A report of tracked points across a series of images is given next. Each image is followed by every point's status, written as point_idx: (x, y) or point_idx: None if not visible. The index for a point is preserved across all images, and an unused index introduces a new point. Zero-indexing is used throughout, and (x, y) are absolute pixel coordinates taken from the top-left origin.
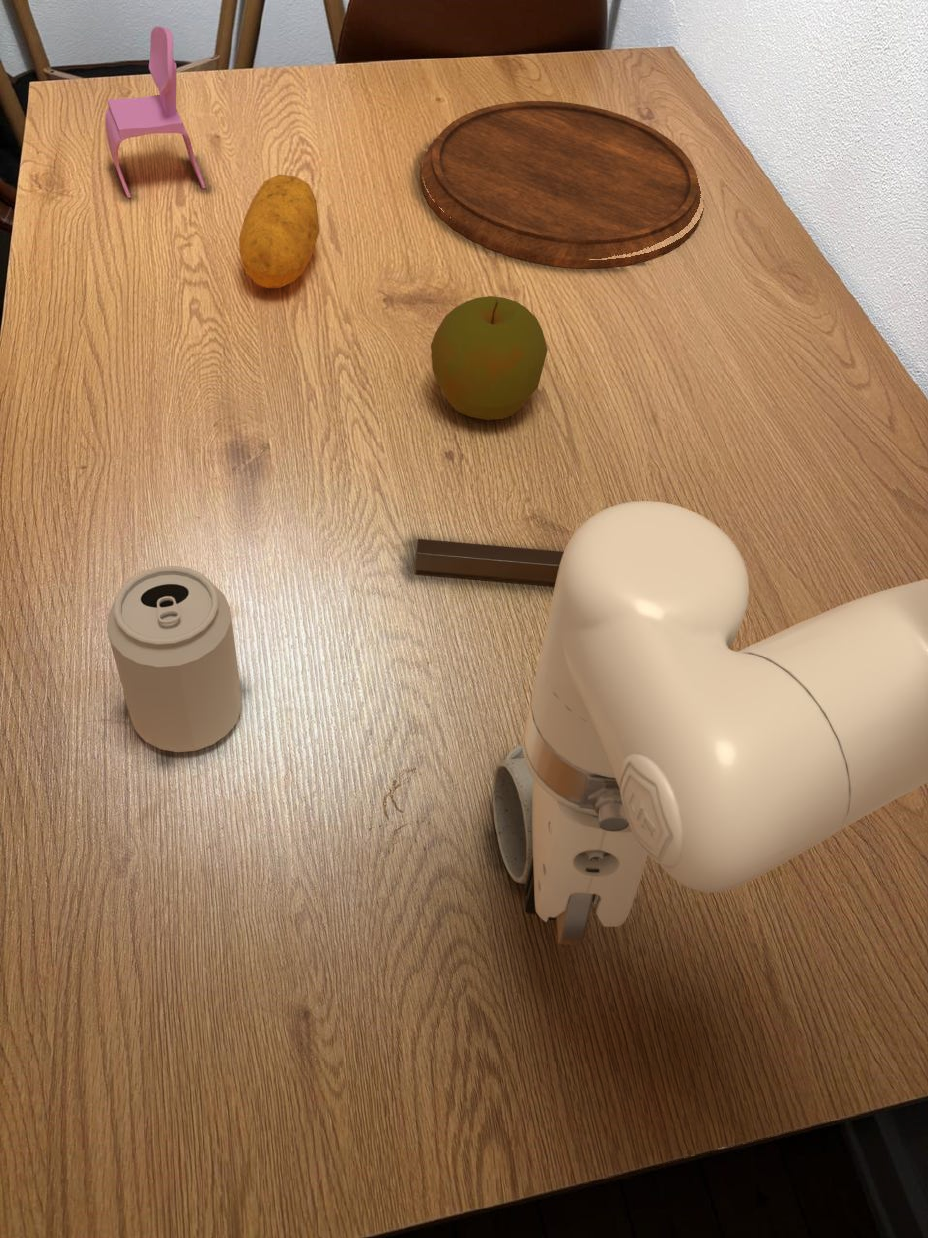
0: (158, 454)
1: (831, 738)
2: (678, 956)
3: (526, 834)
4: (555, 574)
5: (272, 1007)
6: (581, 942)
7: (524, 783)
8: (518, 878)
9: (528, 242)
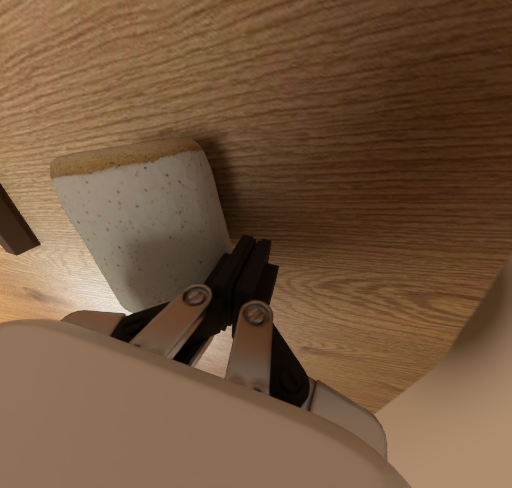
0: (58, 319)
1: None
2: (318, 84)
3: None
4: None
5: (299, 355)
6: (385, 448)
7: (130, 309)
8: None
9: None
